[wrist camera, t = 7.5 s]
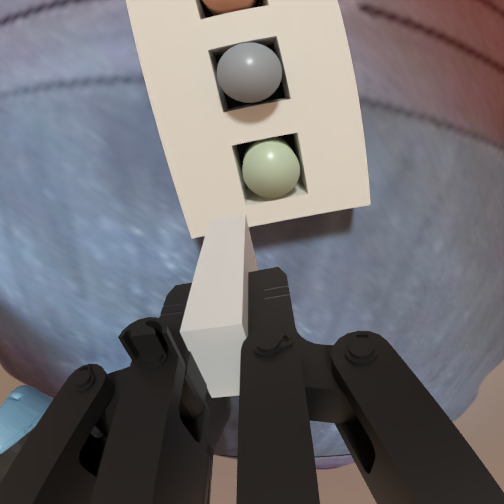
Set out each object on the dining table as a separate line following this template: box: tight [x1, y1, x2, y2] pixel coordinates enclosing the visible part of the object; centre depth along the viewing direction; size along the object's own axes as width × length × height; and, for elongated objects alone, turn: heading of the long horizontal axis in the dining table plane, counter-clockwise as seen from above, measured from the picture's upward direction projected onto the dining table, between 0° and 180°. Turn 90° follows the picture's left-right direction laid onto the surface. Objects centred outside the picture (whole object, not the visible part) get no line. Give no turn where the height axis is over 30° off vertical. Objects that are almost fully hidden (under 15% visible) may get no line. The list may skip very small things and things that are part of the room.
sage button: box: [242, 136, 300, 198], centre depth 23 cm, size 4×4×4 cm
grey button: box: [217, 42, 282, 103], centre depth 19 cm, size 4×4×4 cm
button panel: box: [126, 0, 370, 239], centre depth 20 cm, size 22×14×4 cm, turn 12°
